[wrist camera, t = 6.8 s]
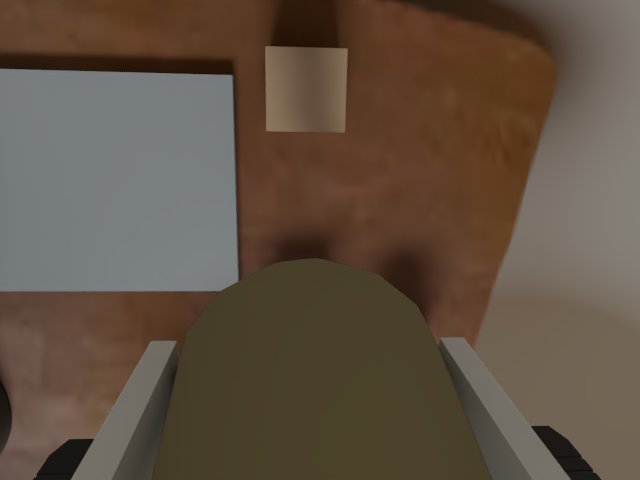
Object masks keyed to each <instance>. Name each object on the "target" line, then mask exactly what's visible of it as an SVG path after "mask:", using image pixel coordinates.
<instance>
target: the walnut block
mask: <svg viewBox="0 0 640 480" xmlns="http://www.w3.org/2000/svg"><path fill="white" fill-rule="evenodd" d="M347 55H348V49H347V48H312V47H277V46H265V65H266V131H286V132H342V133H345V113H346V84H347Z"/></svg>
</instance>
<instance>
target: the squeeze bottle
mask: <svg viewBox="0 0 640 480" xmlns="http://www.w3.org/2000/svg"><path fill="white" fill-rule="evenodd" d="M151 480H493V479H492V477H491V474H490V472H489V469H488V467H487V464H486V462H485V460H484V457H483V455H482V452H481V450H480V447H479V445H478V442H477V440H476V437H475V435H474V433H473V430H472V428H471V425H470V423H469V420H468V418H467V415H466V413H465V411H464V408H463V406H462V403H461V401H460V398H459V396H458V393H457V391H456V388H455V386H454V384H453V381H452V379H451V376H450V374H449V371H448V369H447V366H446V364H445V361H444V359H443V357H442V354H441V352H440V349H439V347H438V345H437V343H436V341H435V339H434V337H433V335H432V333H431V331H430V329H429V327H428V325H427V323H426V321H425V319H424V317H423V315H422V313H421V312H420V310H419V308H418V306H417V305H416V304H415V303H414V302H413V301H411V300H410V299H409V298H408V297H406V296H405V295H404V294H402V293H401V292H400V291H399V290H397V289H396V288H395V287H394V286H392V285H391V284H390V283H388V282H387V281H386V280H385V279H383V278H382V277H381V276H380V275H378V274H377V273H373V272H369V271H366V270H362V269H358V268H354V267H351V266H347V265H343V264H340V263H336V262H332V261H329V260H325V259H318V258H309V259H300V260H291V261H282V262H279V263H275V264H272V265H269V266H267V267H265V268H263V269H261V270H259V271H257V272H255V273H253V274H252V275H250V276H248V277H246V278H244V279H242V280H240V281H238V282H236V283H234V284H233V285H231V286H229V287H227V288H225V289H223V290H221V291H219V293H218V294H217V295H216V296H215V297H214V299H213V300H212V301H211V302H210V304H209V305H208V306H207V307H206V308H205V310H204V311H203V312H202V313H201V315H200V316H199V317H198V318H197V319H196V321H195V322H194V323H193V324H192V326H191V327H190V328H189V329H188V331H187V332H186V336H185V340H184V344H183V348H182V352H181V356H180V359H179V363H178V367H177V371H176V375H175V379H174V384H173V388H172V392H171V396H170V401H169V405H168V409H167V414H166V418H165V422H164V427H163V431H162V435H161V439H160V444H159V448H158V452H157V457H156V461H155V465H154V470H153V474H152V478H151Z"/></svg>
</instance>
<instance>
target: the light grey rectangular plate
mask: <svg viewBox="0 0 640 480" xmlns="http://www.w3.org/2000/svg"><path fill="white" fill-rule="evenodd" d="M238 281H240V275H239V238H238V201H237V165H236V128H235V91H234V76H233V75H210V74H173V73H136V72H99V71H62V70H25V69H0V291H221V290H223V289H225V288H227V287H229V286H231V285H233V284H234V283H236V282H238Z"/></svg>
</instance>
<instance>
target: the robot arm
mask: <svg viewBox="0 0 640 480" xmlns="http://www.w3.org/2000/svg"><path fill="white" fill-rule="evenodd" d="M439 349H440V352H441V354H442V357H443V359H444V361H445V364H446V366H447V369H448V371H449V374H450V376H451V379H452V381H453V384H454V386H455V388H456V391H457V393H458V396H459V398H460V401H461V403H462V406H463V408H464V411H465V413H466V415H467V418H468V420H469V423H470V425H471V428H472V430H473V433H474V435H475V437H476V440H477V442H478V445H479V447H480V450H481V452H482V455H483V457H484V460H485V462H486V464H487V467H488V469H489V472H490V474H491V477H492V479H493V480H601V479H600V478H599V476H598V475H597V474H596V473H593V469H592V468H591V467H590V466H589V464H588V463H587V462H586V461H585V460H584V459H582V457H581V455H580V454H579V452H578V451H577V450H576V449H575V448H574V446H573V445H572V444H571V443H570V442H569V440H568V439H566V438H565V437H563V436H562V435H561V434H559V433H558V432H556V431H555V430H554V429H552V428H550V427H549V426H530V425H529V424H528V422H527V421H526V420H525V418H524V417H523V416H522V414H521V413H520V412H519V410H518V409H517V408H516V407H515V405H514V404H513V402H512V401H511V400H510V398H509V397H508V396H507V395H506V393H505V392H504V390H503V389H502V388H501V386H500V385H499V384H498V382H497V381H496V380H495V379H494V377H493V376H492V374H491V373H490V372H489V370H488V369H487V368H486V367H485V365H484V364H483V363H482V361H481V360H480V359H479V357H478V356H477V355H476V353H475V352H474V351H473V349H472V348H471V347H470V345H469V344H468V343H467V341H466V340H465V339H464V337H462V338H440V342H439ZM177 367H178V350H177V341H151V342H150V344H149V345H148V347H147V349H146V351H145V352H144V354H143V356H142V358H141V359H140V361H139V363H138V364H137V366H136V368H135V370H134V371H133V373H132V375H131V377H130V378H129V380H128V382H127V383H126V385H125V387H124V389H123V390H122V392H121V394H120V396H119V397H118V399H117V401H116V402H115V404H114V406H113V408H112V409H111V411H110V413H109V415H108V416H107V418H106V420H105V421H104V423H103V425H102V427H101V428H100V430H99V432H98V434H97V435H96V437H95V439H69V440H68V441H67V442H65V443H64V444H63V445H62V446H61V447H59V448H58V449H57V450H56V451H54V452H53V453H52V454H51V455H49V457H48V458H47V460H46V461H45V463H44V464H43V466H42V467H41V469H40V470H39V472H38V473H37V477H36V478H34V479H33V480H151V478H152V474H153V470H154V465H155V461H156V457H157V452H158V448H159V444H160V439H161V435H162V431H163V427H164V422H165V418H166V414H167V409H168V405H169V401H170V396H171V392H172V388H173V384H174V379H175V375H176V371H177ZM10 427H11V414H10V408H9V404H8V401H7V398H6V395H5V393H4V391H3V389H2V387H1V385H0V454H1V452H2V451H3V449H4V447H5V445H6V443H7V440H8V437H9V433H10Z"/></svg>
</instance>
